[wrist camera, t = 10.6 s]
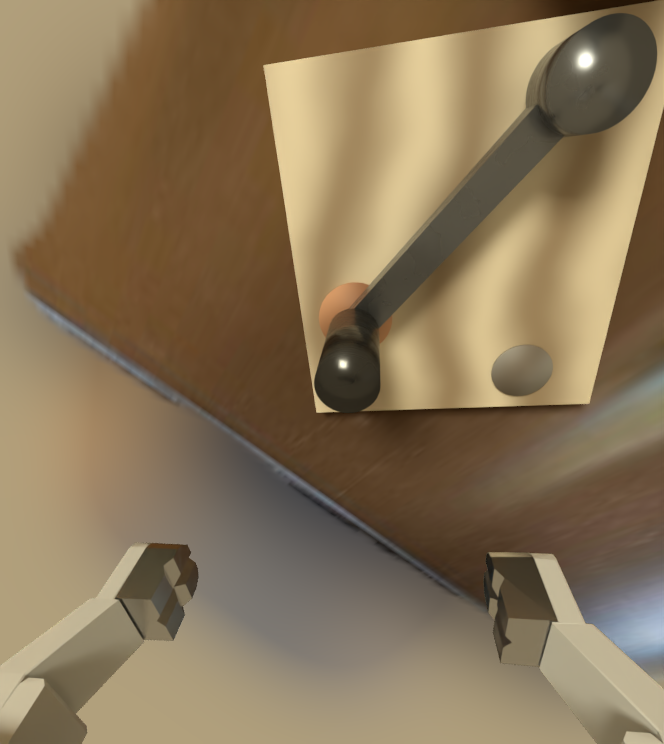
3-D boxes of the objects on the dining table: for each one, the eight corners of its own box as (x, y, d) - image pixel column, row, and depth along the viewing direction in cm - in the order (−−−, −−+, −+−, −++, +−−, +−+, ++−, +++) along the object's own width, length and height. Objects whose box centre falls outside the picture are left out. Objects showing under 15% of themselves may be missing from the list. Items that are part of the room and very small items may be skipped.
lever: (634, 80, 18) (798, 27, 11) (361, 357, 26) (357, 427, 19) (581, 12, 17) (724, -93, 10) (316, 322, 25) (294, 382, 18)
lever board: (669, 6, 18) (695, -7, 17) (579, 392, 29) (590, 405, 27) (270, 71, 21) (262, 64, 20) (319, 402, 32) (316, 413, 30)
